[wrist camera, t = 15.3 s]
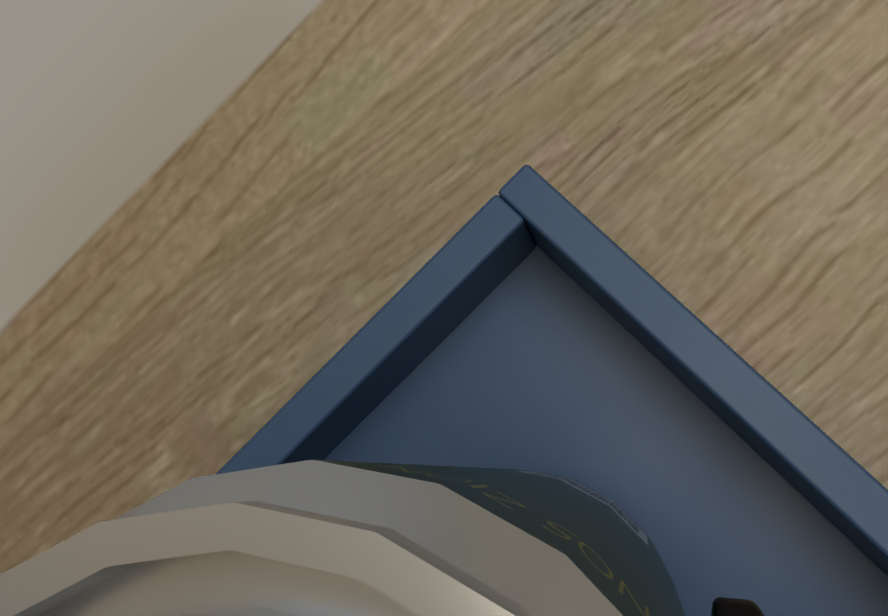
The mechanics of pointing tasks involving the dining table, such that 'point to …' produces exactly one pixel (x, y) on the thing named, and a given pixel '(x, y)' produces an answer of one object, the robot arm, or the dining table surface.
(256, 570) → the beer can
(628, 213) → the dining table surface
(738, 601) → the robot arm
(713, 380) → the tray
